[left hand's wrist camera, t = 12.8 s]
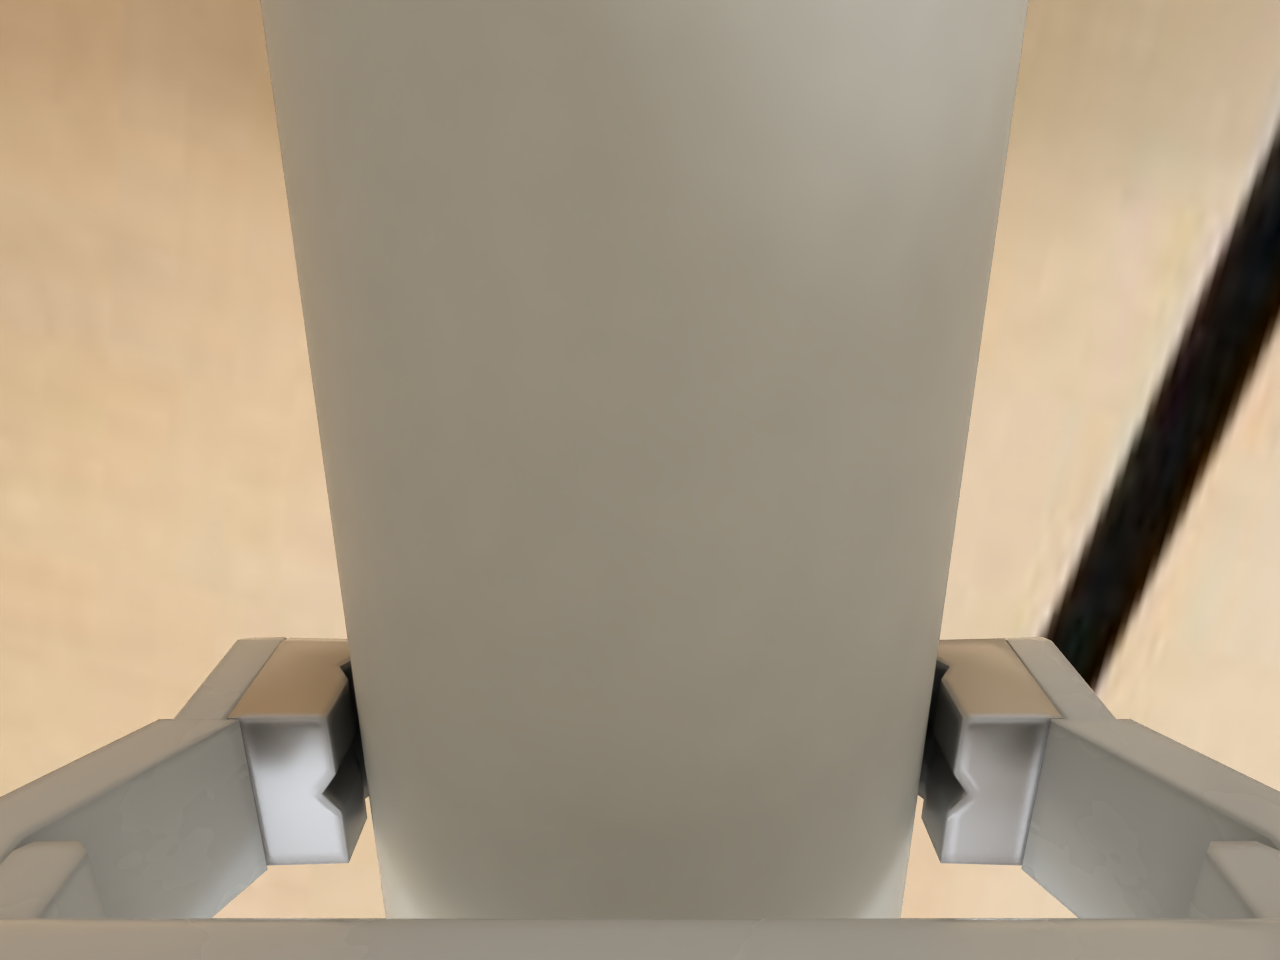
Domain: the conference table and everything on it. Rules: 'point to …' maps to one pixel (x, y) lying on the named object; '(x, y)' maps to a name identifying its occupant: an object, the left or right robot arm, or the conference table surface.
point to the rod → (643, 428)
